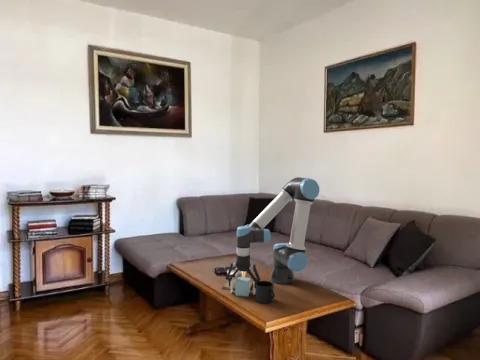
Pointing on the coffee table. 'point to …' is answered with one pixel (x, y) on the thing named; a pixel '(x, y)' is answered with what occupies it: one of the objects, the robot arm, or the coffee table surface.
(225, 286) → the post base
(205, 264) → the coffee table surface
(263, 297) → the mug
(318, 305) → the coffee table surface
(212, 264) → the coffee table surface
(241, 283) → the light blue block
